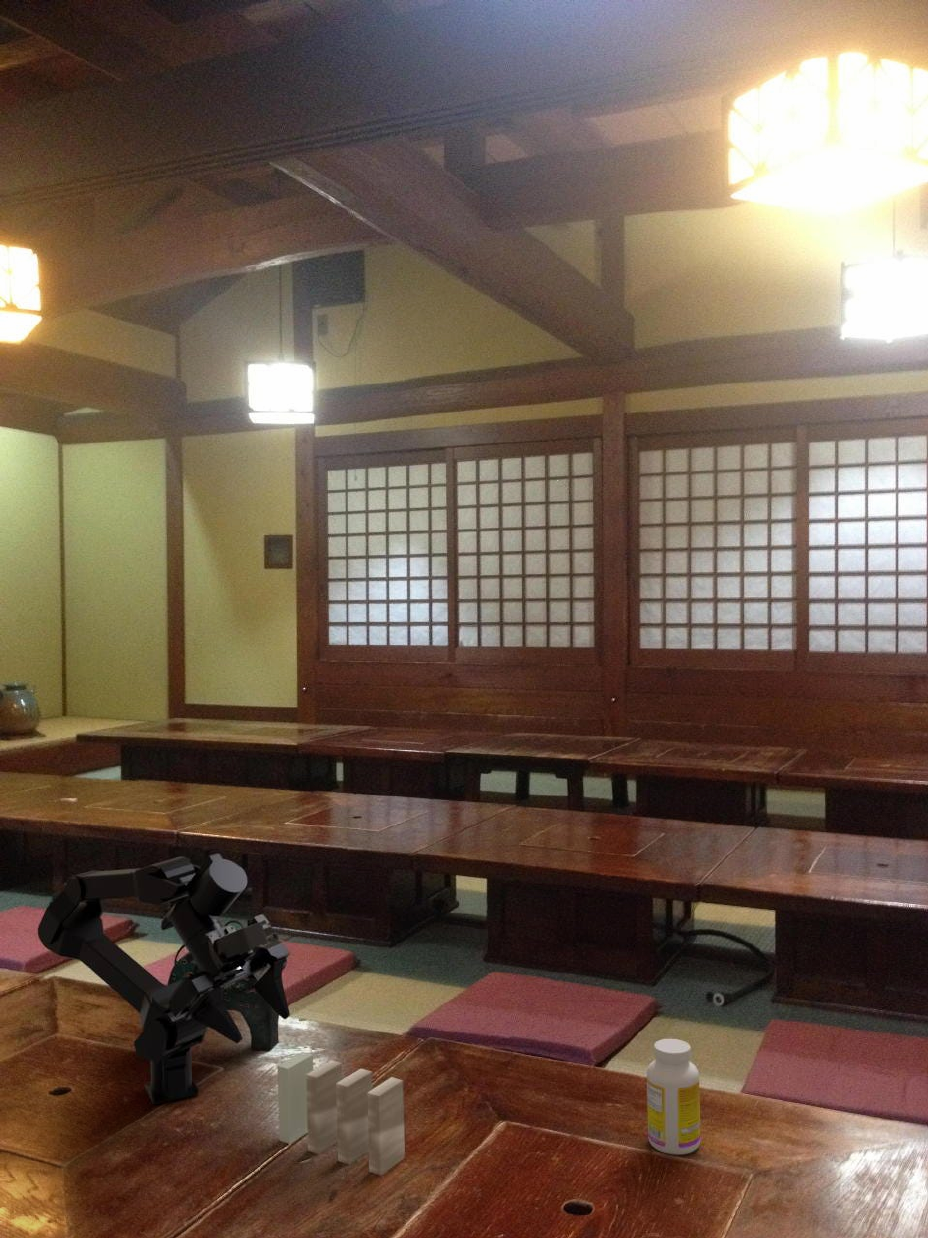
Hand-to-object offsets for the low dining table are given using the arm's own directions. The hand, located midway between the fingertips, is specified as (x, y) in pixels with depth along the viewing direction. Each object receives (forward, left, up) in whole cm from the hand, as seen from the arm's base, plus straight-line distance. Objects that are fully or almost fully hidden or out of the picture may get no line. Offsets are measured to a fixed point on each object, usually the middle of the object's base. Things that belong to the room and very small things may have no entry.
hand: (264, 1029), depth 151 cm
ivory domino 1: (+9, +5, -13) cm, 17 cm away
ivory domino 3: (+18, +10, -13) cm, 24 cm away
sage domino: (+5, +3, -13) cm, 14 cm away
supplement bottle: (+31, +45, -13) cm, 56 cm away
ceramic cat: (-29, +2, -13) cm, 32 cm away
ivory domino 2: (+13, +8, -13) cm, 20 cm away
